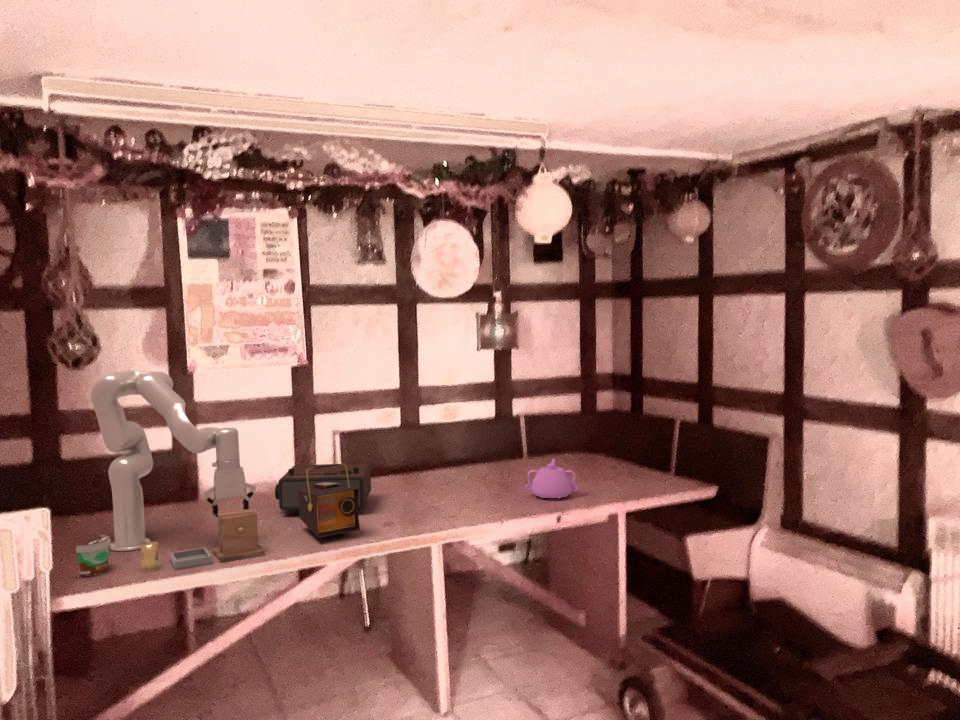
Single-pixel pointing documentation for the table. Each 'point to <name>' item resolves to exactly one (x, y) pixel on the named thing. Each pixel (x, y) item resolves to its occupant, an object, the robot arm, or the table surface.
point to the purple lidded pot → (551, 482)
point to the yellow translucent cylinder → (149, 556)
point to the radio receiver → (335, 474)
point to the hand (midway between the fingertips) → (231, 513)
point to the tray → (190, 558)
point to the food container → (94, 556)
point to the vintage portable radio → (329, 507)
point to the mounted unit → (237, 536)
